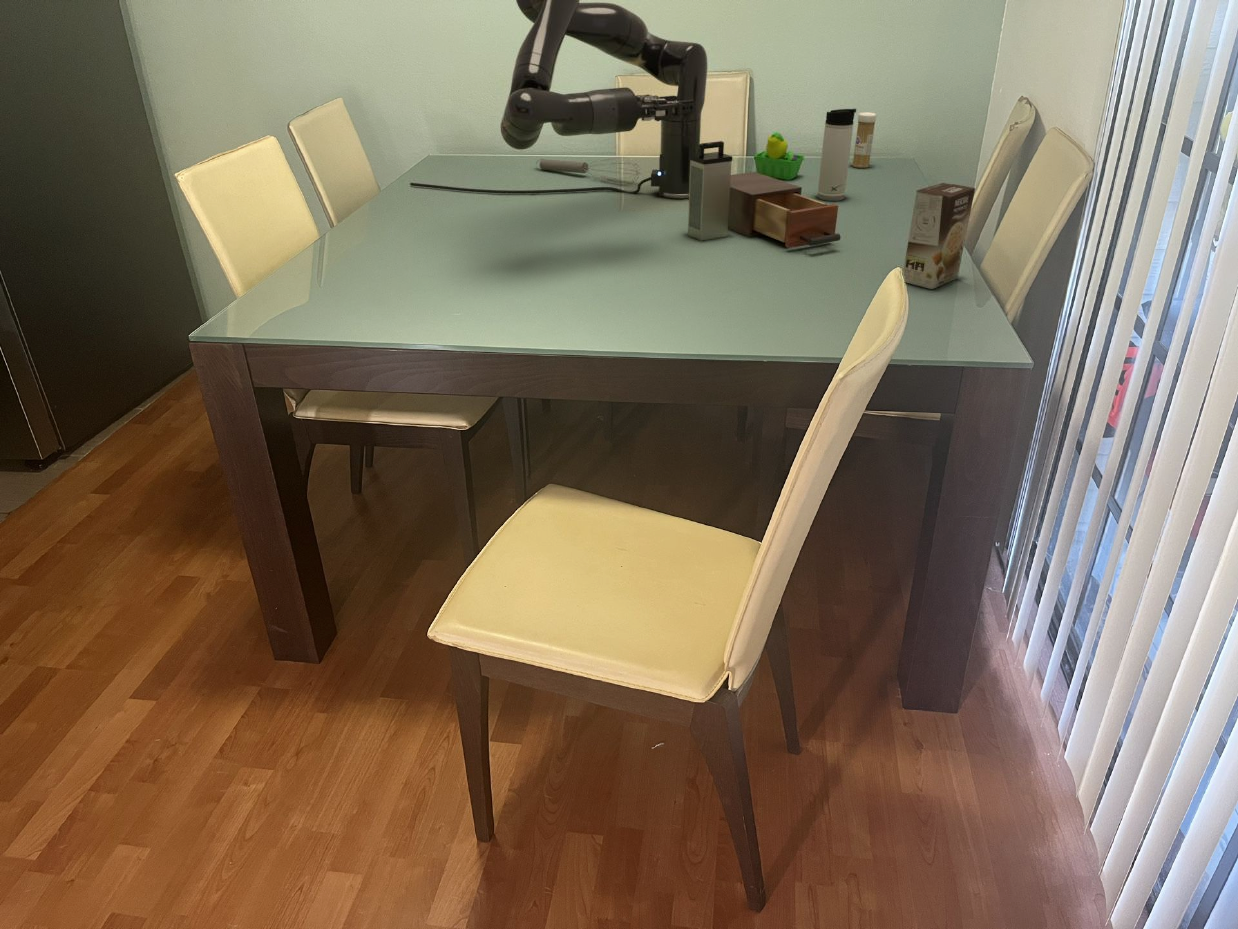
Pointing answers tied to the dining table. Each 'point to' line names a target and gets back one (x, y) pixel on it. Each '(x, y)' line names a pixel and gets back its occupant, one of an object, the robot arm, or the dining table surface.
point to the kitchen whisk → (579, 167)
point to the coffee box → (937, 234)
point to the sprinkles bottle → (864, 140)
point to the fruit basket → (778, 159)
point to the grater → (709, 192)
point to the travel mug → (835, 154)
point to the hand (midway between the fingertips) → (685, 103)
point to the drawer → (795, 219)
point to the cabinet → (752, 198)
